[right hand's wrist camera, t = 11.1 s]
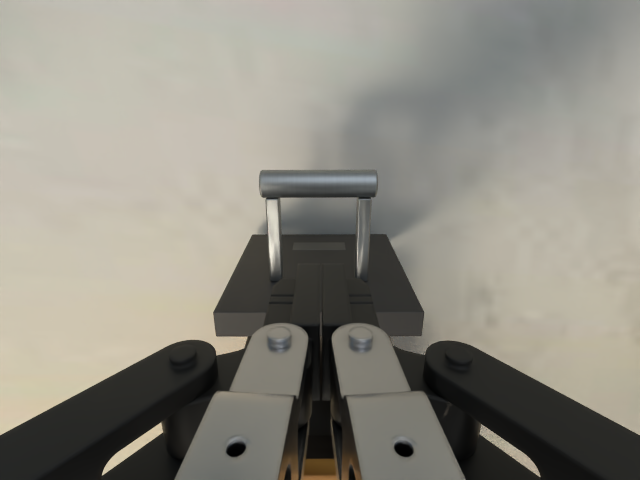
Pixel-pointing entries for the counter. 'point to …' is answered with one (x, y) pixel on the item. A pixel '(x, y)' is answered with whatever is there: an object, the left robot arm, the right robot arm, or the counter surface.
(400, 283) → the drawer
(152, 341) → the counter surface
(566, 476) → the right robot arm
